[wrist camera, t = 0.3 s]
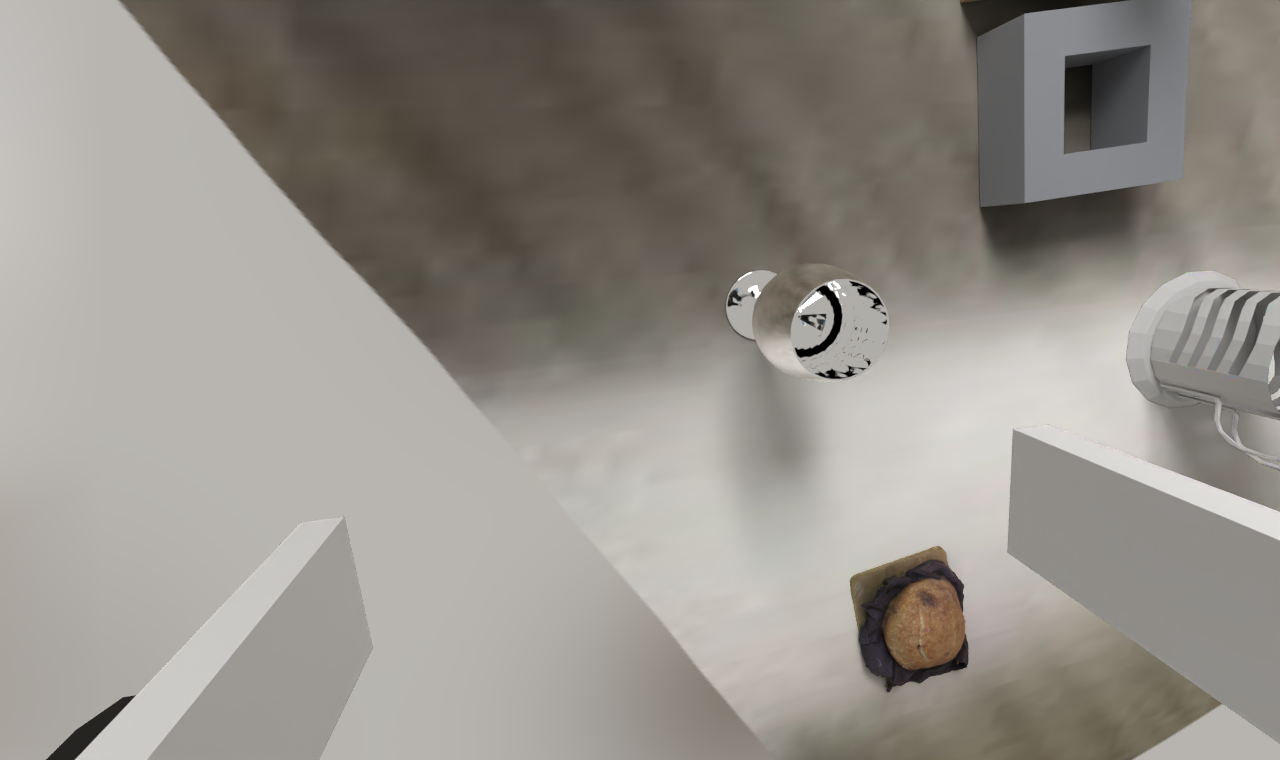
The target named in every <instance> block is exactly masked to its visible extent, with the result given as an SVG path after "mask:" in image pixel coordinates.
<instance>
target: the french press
mask: <svg viewBox="0 0 1280 760" xmlns="http://www.w3.org/2000/svg"><path fill="white" fill-rule="evenodd" d="M1263 316H1264V320H1263ZM1273 352H1274V360H1275V376H1274V377H1273V379H1272V380H1271V382H1270V384H1269V385H1268V372H1269V365H1270V362H1271V359H1272V355H1273ZM1126 361H1127V364H1128V368H1129V372H1130V375H1131V379H1132V383H1133V384H1134V385H1135V386H1136V387H1137V389H1138V390H1139V391H1140V392H1141V393H1142V394H1143V395H1144V397H1145V398H1146V399H1147V400H1149V401H1152V402H1154V403H1157V404H1160V405H1162V406H1165V407H1168V408H1172V407H1184V406H1193V405H1195V404H1197V403H1202V404H1206V405H1209V406H1213V407H1215V416H1214V421H1215V423H1216V426H1217V429H1218V431H1219V434H1220V435H1221V436H1222V437H1223V438H1224V439H1225V440H1226V441H1227V442H1228V443H1229V444H1231V445H1232V446H1234V447H1236V448H1237V449H1239V450H1241V451H1242V452H1244V453H1245V454H1246V455H1247V456H1248V457H1250V458H1252V459H1253V460H1255V461H1257V462H1259V463H1261V464H1263V465H1266V466H1269V467H1271V468H1274V469H1276V470H1279V471H1280V466H1278V465H1275V464H1272V463H1269V462H1265V461H1263V460H1262V459H1260V458H1259V457H1261V458H1264V459H1268V460H1274V461H1280V457H1278V456H1269V455H1266V454H1262V453H1260V452H1257V451H1254V450H1251V449H1248V448H1246V447H1244V446H1243V445H1242V444H1241V441H1240V438H1239V435H1238V432H1237V430H1238V421H1239V414H1238V413H1237V411H1236V410H1240V411H1244V412H1248V413H1252V414H1256V415H1260V416H1264V417H1268V418H1272V419H1276V420H1280V410H1277V409H1276V406H1280V397H1279V398H1277V399H1275V400H1273V401H1272V400H1271V396H1270V395H1271V394H1273V393H1275V392H1277V391H1278V390H1279V388H1280V291H1274V290H1259V289H1244V288H1240V286H1239V285H1238V284H1237V282H1236V281H1235V280H1234V279H1232V278H1229V277H1227V276H1225V275H1222V274H1220V273H1218V272H1215V271H1198V272H1187V273H1185V274H1183V275H1181V276H1179V277H1177V278H1175V279H1173V280H1171V281H1169V282H1167V283H1165V284H1163V285H1162V286H1161V287H1160V288H1159V289H1158V290H1157V291H1156V292H1155V293H1154V294H1153V295H1152V296H1151V297H1150V298H1149V299H1148V300H1147V301H1146V302H1145V303H1144V304H1143V305H1142V307H1141V309H1140V311H1139V313H1138V315H1137V317H1136V319H1135V322H1134V324H1133V326H1132V328H1131V330H1130V332H1129V339H1128V347H1127V355H1126ZM1221 409H1225V410H1228V411H1230V412H1232V413H1233V419H1232V435H1233V438H1234V440H1233V439H1232V438H1231V437H1229V436H1228V435H1227V434H1226V433H1225V432H1224V431H1223V429H1222V426H1221V423H1220V415H1221ZM1235 409H1236V410H1235ZM1257 456H1258V457H1257Z"/></svg>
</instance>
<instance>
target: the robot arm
mask: <svg viewBox="0 0 1280 760" xmlns="http://www.w3.org/2000/svg"><path fill="white" fill-rule="evenodd" d="M1007 553H1009V554H1010V555H1012V556H1013V557H1015V558H1016V559H1017V560H1019V561H1020V562H1022V563H1023V564H1025V565H1026V566H1027V567H1029V568H1030V569H1032V570H1033V571H1035V572H1036V573H1037V574H1039V575H1040V576H1042V577H1043V578H1044V579H1046V580H1047V581H1049V582H1050V583H1052V584H1053V585H1054V586H1056V587H1057V588H1059V589H1060V590H1062V591H1063V592H1064V593H1066V594H1067V595H1069V596H1070V597H1072V598H1073V599H1074V600H1076V601H1077V602H1079V603H1080V604H1081V605H1083V606H1084V607H1086V608H1087V609H1089V610H1090V611H1091V612H1093V613H1094V614H1096V615H1097V616H1099V617H1100V618H1101V619H1103V620H1104V621H1106V622H1107V623H1109V624H1110V625H1111V626H1113V627H1114V628H1116V629H1117V630H1118V631H1120V632H1121V633H1123V634H1124V635H1126V636H1127V637H1128V638H1130V639H1131V640H1133V641H1134V642H1136V643H1137V644H1138V645H1140V646H1141V647H1143V648H1144V649H1146V650H1147V651H1148V652H1150V653H1151V654H1153V655H1154V656H1155V657H1157V658H1158V659H1160V660H1161V661H1163V662H1164V663H1165V664H1167V665H1168V666H1170V667H1171V668H1173V669H1174V670H1175V671H1177V672H1178V673H1180V674H1181V675H1183V676H1184V677H1185V678H1187V679H1188V680H1190V681H1191V682H1192V683H1194V684H1195V685H1197V686H1198V687H1200V688H1201V689H1202V690H1204V691H1205V692H1207V693H1208V694H1210V695H1211V696H1212V697H1214V698H1215V699H1217V700H1218V701H1220V702H1221V703H1222V704H1224V705H1225V706H1227V707H1228V708H1229V709H1231V710H1232V711H1234V712H1235V713H1237V714H1238V715H1240V716H1241V717H1242V718H1244V719H1245V720H1247V721H1248V722H1249V723H1251V724H1252V725H1254V726H1255V727H1257V728H1258V729H1259V730H1261V731H1262V732H1264V733H1265V734H1266V735H1268V736H1269V737H1271V738H1272V739H1274V740H1275V741H1276V742H1278V743H1279V744H1280V512H1279V511H1276V510H1274V509H1271V508H1268V507H1266V506H1263V505H1260V504H1258V503H1255V502H1252V501H1250V500H1247V499H1244V498H1242V497H1239V496H1236V495H1234V494H1231V493H1229V492H1226V491H1223V490H1221V489H1218V488H1215V487H1213V486H1210V485H1207V484H1205V483H1202V482H1199V481H1197V480H1194V479H1191V478H1189V477H1186V476H1183V475H1181V474H1178V473H1176V472H1173V471H1170V470H1168V469H1165V468H1162V467H1160V466H1157V465H1154V464H1152V463H1149V462H1146V461H1144V460H1141V459H1138V458H1136V457H1133V456H1130V455H1128V454H1125V453H1122V452H1120V451H1117V450H1115V449H1112V448H1109V447H1107V446H1104V445H1101V444H1099V443H1096V442H1093V441H1091V440H1088V439H1085V438H1083V437H1080V436H1077V435H1075V434H1072V433H1069V432H1067V431H1064V430H1062V429H1059V428H1056V427H1054V426H1051V425H1040V426H1032V427H1025V428H1017V429H1013V440H1012V462H1011V484H1010V505H1009V527H1008V549H1007ZM372 648H373V646H372V642H371V638H370V633H369V628H368V624H367V619H366V614H365V610H364V605H363V600H362V596H361V591H360V587H359V582H358V577H357V573H356V568H355V564H354V559H353V555H352V549H351V545H350V540H349V536H348V531H347V526H346V522H345V517H337V518H329V519H322V520H315V521H307V522H301V523H300V524H299V525H298V526H297V527H296V528H295V529H294V530H293V531H292V532H291V533H290V534H289V535H288V536H287V537H286V538H285V540H284V541H283V542H282V543H281V544H280V545H279V546H278V547H277V548H276V549H275V550H274V551H273V552H272V553H271V554H270V555H269V556H268V557H267V558H266V560H265V561H264V562H263V563H262V564H261V565H260V566H259V567H258V568H257V569H256V570H255V571H254V572H253V573H252V574H251V575H250V576H249V577H248V578H247V579H246V581H245V582H244V583H243V584H242V585H241V586H240V587H239V588H238V589H237V590H236V591H235V592H234V593H233V594H232V595H231V596H230V597H229V598H228V599H227V601H226V602H225V603H224V604H223V605H222V606H221V607H220V608H219V609H218V610H217V611H216V612H215V613H214V614H213V615H212V616H211V617H210V618H209V620H208V621H207V622H206V623H205V624H204V625H203V626H202V627H201V628H200V629H199V630H198V631H197V632H196V633H195V634H194V635H193V636H192V637H191V638H190V639H189V640H188V641H187V643H186V644H185V645H184V646H183V647H182V648H181V649H180V650H179V651H178V652H177V653H176V654H175V655H174V656H173V657H172V658H171V659H170V660H169V661H168V663H167V664H166V665H165V666H164V667H163V668H162V669H161V670H160V671H159V672H158V673H157V674H156V675H155V676H154V677H153V678H152V679H151V680H150V681H149V682H148V684H147V685H146V686H145V687H144V688H143V689H142V690H141V691H140V692H139V693H138V694H137V695H135V696H130V697H123V698H122V699H120V700H119V701H117V702H116V703H114V704H113V705H112V706H110V707H109V708H107V709H106V710H104V711H103V712H101V713H100V714H98V715H97V716H96V717H94V718H93V719H91V720H90V721H88V722H87V723H85V724H84V725H83V726H81V727H80V728H78V729H77V730H76V731H75V732H74V733H73V734H72V735H71V736H70V737H69V738H68V739H67V740H66V741H64V743H63V744H61V746H59V748H57V749H56V751H54V753H53V754H51V755H50V756H49V758H47V759H46V760H319V758H320V757H321V755H322V753H323V751H324V748H325V746H326V744H327V742H328V740H329V738H330V736H331V734H332V732H333V730H334V728H335V726H336V723H337V721H338V719H339V717H340V715H341V713H342V711H343V709H344V707H345V705H346V703H347V701H348V698H349V696H350V694H351V692H352V690H353V688H354V686H355V684H356V682H357V680H358V677H359V676H360V673H361V671H362V669H363V667H364V665H365V663H366V661H367V659H368V657H369V654H370V653H371V650H372Z"/></svg>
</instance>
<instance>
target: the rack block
mask: <svg viewBox="0 0 1280 760" xmlns="http://www.w3.org/2000/svg"><path fill="white" fill-rule="evenodd" d="M1191 12H1192V0H1128V1H1120V2H1113V3H1105V4H1097V5H1089V6H1081V7H1073V8H1065V9H1057V10H1049V11H1041V12H1033V13H1025V14H1023V15H1021V16H1019V17H1017V18H1015V19H1013V20H1011V21H1009V22H1007V23H1005V24H1003V25H1001V26H999V27H997V28H995V29H993V30H991V31H989V32H987V33H985V34H983V35H981V36H979V37H977V65H978V123H979V181H980V207H987V206H999V205H1010V204H1021V203H1029V202H1036V201H1042V200H1049V199H1055V198H1062V197H1069V196H1075V195H1082V194H1088V193H1095V192H1102V191H1108V190H1115V189H1121V188H1128V187H1134V186H1141V185H1148V184H1154V183H1161V182H1167V181H1174V180H1181V179H1182V177H1183V158H1184V140H1185V122H1186V104H1187V85H1188V67H1189V49H1190V30H1191ZM1086 65H1092V103H1091V148H1090V150H1089V151H1082V152H1075V153H1069V154H1064V84H1065V68H1071V67H1079V66H1086Z"/></svg>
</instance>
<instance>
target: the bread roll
mask: <svg viewBox="0 0 1280 760" xmlns="http://www.w3.org/2000/svg"><path fill="white" fill-rule="evenodd" d="M850 586H851V595H852V599H853V604H854V610H855V616H856V621H857V626H858V630H859V642H860V643H861V648H862V653H863V656H864V659H865V662H866V667H868V668H869V670H870V671H871V672H872V673H873V674H875V675H877V676H882V677H886V678H887V685H886V686H885V687H886V688H887V689H886V690H887V692H890V690H891V689H892V687H894V686H897V685H898V686H902V685H904V684H905V683H907V682H909V681H914V682H918V683H921V682H923V681H924V680H925V679H927V678H928V677H931V676H935V675H941V674H943V673H947V672H950V671H952V670H959V669H963V668H966V667H967V665H968V642H967V639H966V634H965V620H964V616H963V614H962V613H963V598H964V595H963V589H964V585H963V584H962V582H961V580H959V579H958V577H957V576H956V574H955V573H954V572H953V571H951V569H950V568H949V565H948V562H947V557H946V552H945V551H944V550H943V549H942V548H941V547H940V546H936V547H932V548H930V549H928V550H926V551H923V552H920V553H917V554H914V555H911V556H908V557H905V558H901V559H899V560H896V561H894V562H891V563H887V564H885V565H882V566H879V567H876V568H873V569H870V570H867V571H865V572H862V573H859V574H856V575H854V576H853V577H852V578H851V580H850ZM961 662H962V663H961ZM957 663H958V664H957Z"/></svg>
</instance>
